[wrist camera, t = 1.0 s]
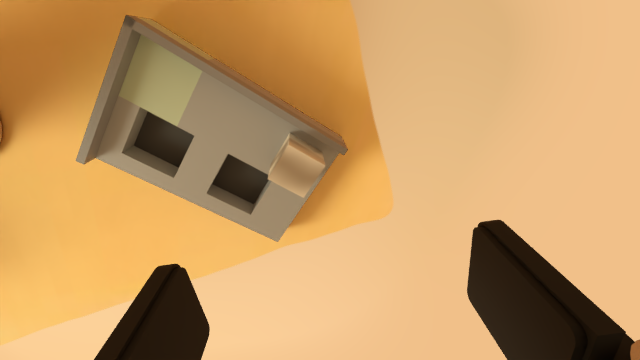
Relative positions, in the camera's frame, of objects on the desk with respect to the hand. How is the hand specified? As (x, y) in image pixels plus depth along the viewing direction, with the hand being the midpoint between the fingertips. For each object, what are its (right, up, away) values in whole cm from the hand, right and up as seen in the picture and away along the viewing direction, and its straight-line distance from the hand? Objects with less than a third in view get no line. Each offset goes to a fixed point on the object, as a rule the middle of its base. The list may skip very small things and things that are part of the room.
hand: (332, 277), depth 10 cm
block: (-3, +6, +25) cm, 26 cm away
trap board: (-12, +8, +27) cm, 30 cm away
